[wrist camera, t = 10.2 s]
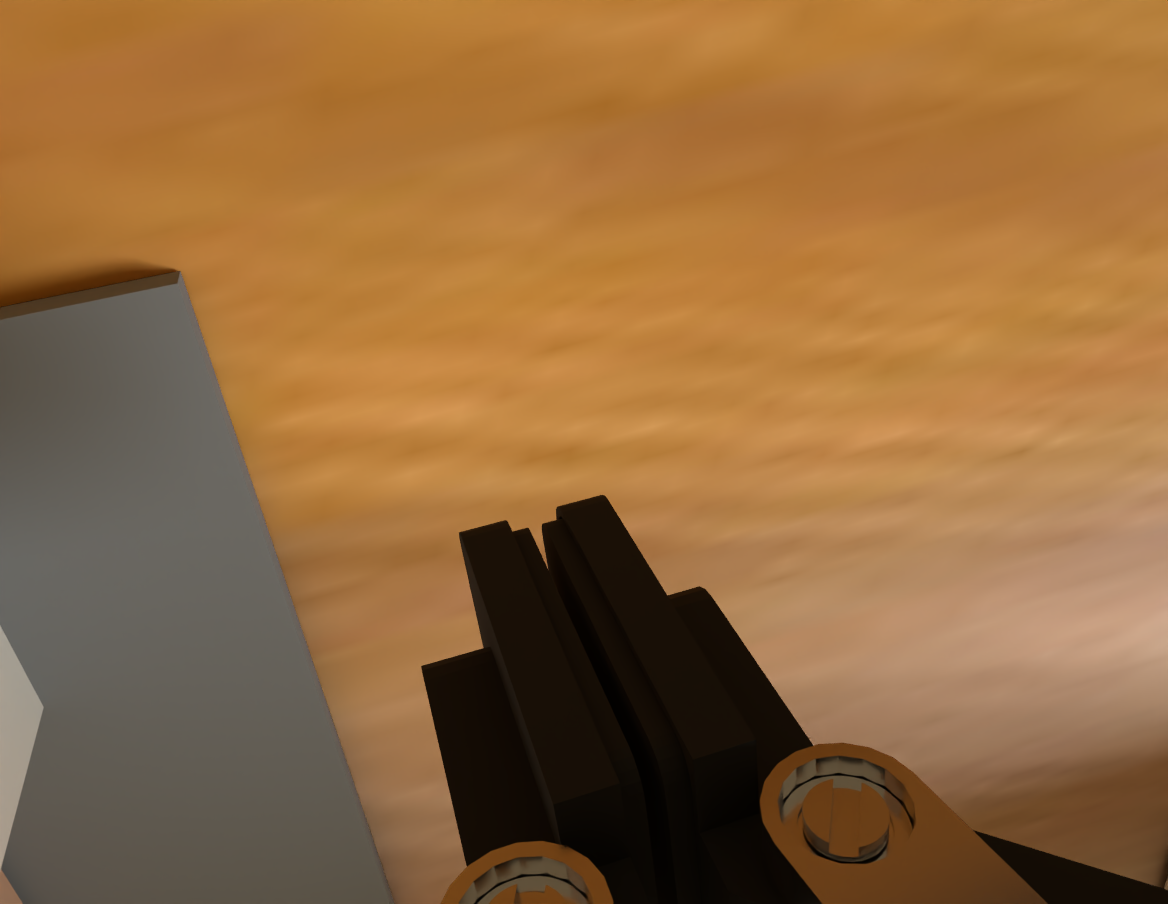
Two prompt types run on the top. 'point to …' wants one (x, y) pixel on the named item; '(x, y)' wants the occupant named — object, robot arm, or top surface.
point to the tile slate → (14, 734)
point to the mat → (156, 629)
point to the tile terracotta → (7, 891)
